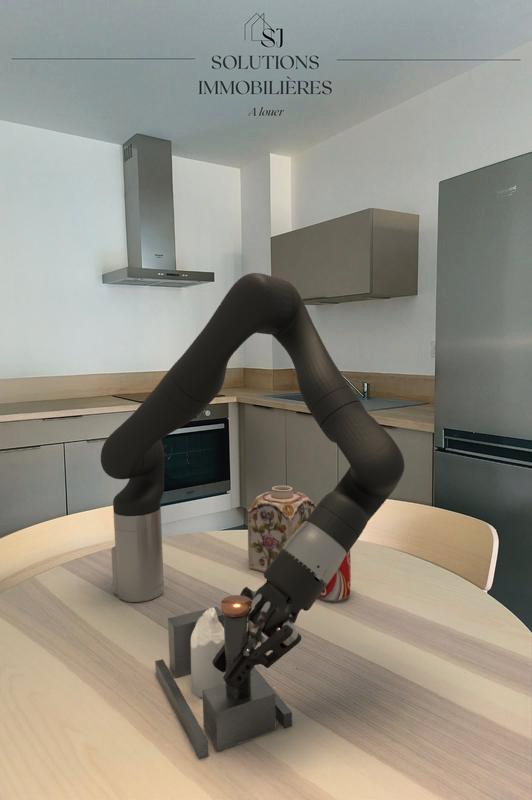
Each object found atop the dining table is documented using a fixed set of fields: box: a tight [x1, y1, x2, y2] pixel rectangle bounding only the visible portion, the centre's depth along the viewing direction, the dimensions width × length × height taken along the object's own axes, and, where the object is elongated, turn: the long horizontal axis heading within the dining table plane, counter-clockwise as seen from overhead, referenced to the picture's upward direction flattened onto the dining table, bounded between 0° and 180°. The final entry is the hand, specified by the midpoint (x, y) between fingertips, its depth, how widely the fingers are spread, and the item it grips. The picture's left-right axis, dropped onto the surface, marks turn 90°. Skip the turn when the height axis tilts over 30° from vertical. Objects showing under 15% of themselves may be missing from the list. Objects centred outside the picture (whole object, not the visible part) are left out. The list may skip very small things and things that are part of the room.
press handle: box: [202, 594, 277, 752], centre depth 71 cm, size 5×8×17 cm, turn 116°
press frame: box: [154, 606, 293, 760], centre depth 79 cm, size 20×13×8 cm, turn 26°
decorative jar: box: [247, 485, 317, 573], centre depth 125 cm, size 12×12×18 cm
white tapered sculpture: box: [190, 607, 226, 699], centre depth 81 cm, size 6×12×6 cm
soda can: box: [318, 549, 352, 603], centre depth 110 cm, size 7×7×12 cm
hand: (223, 675), depth 71 cm, fingers closed on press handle, 3 cm apart
